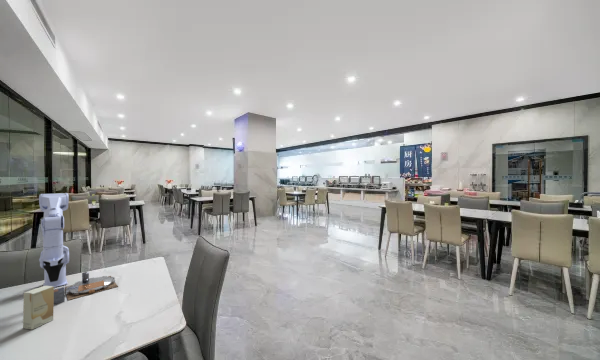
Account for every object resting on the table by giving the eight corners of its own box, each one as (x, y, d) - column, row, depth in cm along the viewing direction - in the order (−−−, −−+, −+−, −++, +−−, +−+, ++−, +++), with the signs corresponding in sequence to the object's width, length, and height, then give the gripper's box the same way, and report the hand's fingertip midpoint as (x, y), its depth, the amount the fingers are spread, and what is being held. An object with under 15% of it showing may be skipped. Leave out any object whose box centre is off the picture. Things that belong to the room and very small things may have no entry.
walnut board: (65, 287, 112) (65, 286, 112) (110, 276, 125) (110, 275, 125) (67, 300, 100) (67, 299, 100) (118, 286, 113) (118, 286, 113)
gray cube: (43, 304, 97) (43, 291, 97) (64, 298, 102) (63, 286, 102) (43, 307, 95) (43, 295, 95) (64, 302, 99) (64, 289, 99)
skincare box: (31, 330, 80) (31, 294, 80) (22, 328, 81) (21, 293, 81) (55, 319, 87) (54, 285, 87) (45, 317, 88) (45, 284, 87)
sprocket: (53, 295, 103) (53, 282, 103) (88, 278, 121) (88, 267, 121) (95, 294, 104) (95, 282, 104) (123, 277, 122) (123, 266, 121)
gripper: (39, 244, 100) (39, 276, 100) (38, 251, 90) (39, 287, 90) (62, 241, 105) (63, 272, 105) (64, 247, 95) (65, 281, 95)
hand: (53, 278), depth 98 cm, fingers open, 6 cm apart
